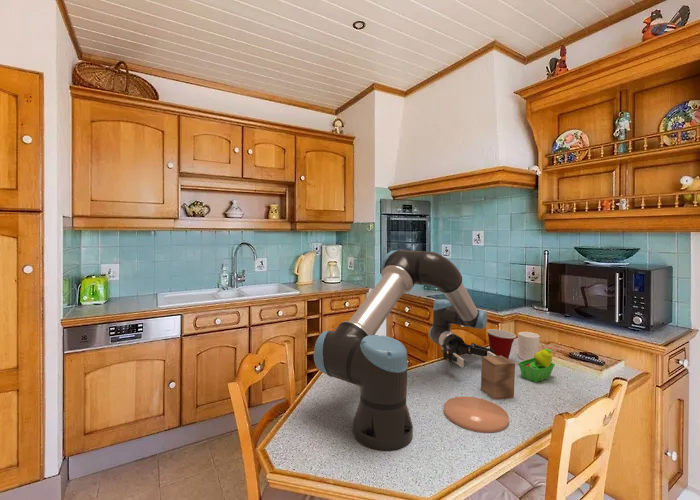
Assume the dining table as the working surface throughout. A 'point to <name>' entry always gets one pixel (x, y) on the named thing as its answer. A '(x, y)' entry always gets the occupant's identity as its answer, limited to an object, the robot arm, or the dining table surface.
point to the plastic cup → (500, 342)
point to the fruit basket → (537, 366)
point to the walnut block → (497, 377)
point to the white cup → (527, 345)
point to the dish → (476, 414)
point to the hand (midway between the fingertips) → (480, 362)
